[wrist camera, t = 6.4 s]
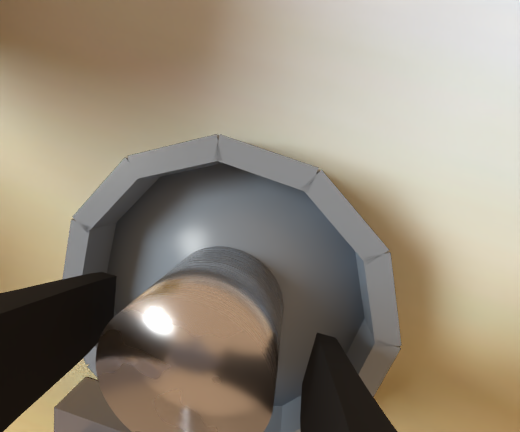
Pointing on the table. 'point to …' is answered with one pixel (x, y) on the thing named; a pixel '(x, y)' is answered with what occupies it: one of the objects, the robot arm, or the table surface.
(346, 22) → the table surface
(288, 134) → the table surface
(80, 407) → the scale
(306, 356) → the tray
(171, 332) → the tan glossy rounded piece
